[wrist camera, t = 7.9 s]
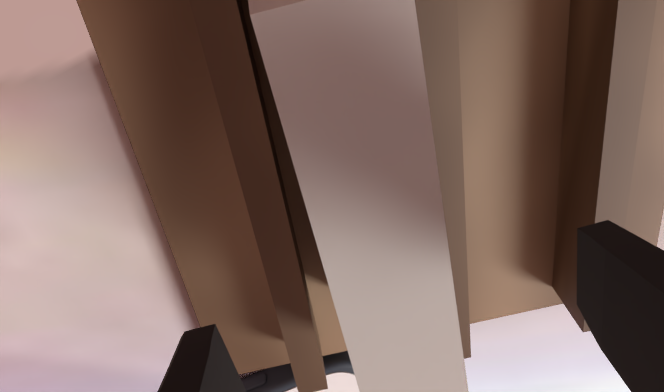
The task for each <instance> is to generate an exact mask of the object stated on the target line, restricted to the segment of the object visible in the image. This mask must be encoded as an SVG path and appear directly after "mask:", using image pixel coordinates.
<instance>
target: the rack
mask: <svg viewBox="0 0 664 392" xmlns="http://www.w3.org/2000/svg"><path fill="white" fill-rule="evenodd" d="M77 3H78V6H79V8H80V11H81V14H82V16H83V19H84V22H85V24H86V27H87V29H88V32H89V35H90V37H91V40H92V43H93V45H94V48H95V51H96V53H97V56H98V58H99V61H100V64H101V66H102V69H103V72H104V74H105V77H106V80H107V82H108V85H109V87H110V90H111V93H112V95H113V98H114V101H115V103H116V106H117V108H118V111H119V114H120V116H121V119H122V122H123V124H124V127H125V129H126V132H127V135H128V137H129V140H130V143H131V145H132V148H133V151H134V153H135V156H136V158H137V161H138V164H139V166H140V169H141V172H142V174H143V177H144V179H145V182H146V185H147V187H148V190H149V193H150V195H151V198H152V201H153V203H154V206H155V208H156V211H157V214H158V216H159V219H160V222H161V224H162V227H163V229H164V232H165V235H166V237H167V240H168V243H169V245H170V248H171V250H172V253H173V256H174V258H175V261H176V264H177V266H178V269H179V272H180V274H181V277H182V279H183V282H184V285H185V287H186V290H187V293H188V295H189V298H190V300H191V303H192V306H193V308H194V311H195V314H196V316H197V319H198V322H199V324H200V327H204V326H208V325H212V324H216V326H217V328H218V330H219V333H220V335H221V337H222V339H223V341H224V344H225V346H226V348H227V350H228V352H229V354H230V357H231V359H232V361H233V363H234V365H235V367H236V370H237V372H238V374H243V373H248V372H252V371H257V370H261V369H266V368H271V367H275V366H280V365H284V364H289V363H290V364H291V367H292V371H293V375H294V378H295V382H296V385H297V389H298V392H316V391H320V390H325V389H328V385H327V379H326V374H325V368H324V362H323V357H322V356H325V355H330V354H334V353H339V352H344V351H348V350H347V347H346V343H345V340H344V336H343V333H342V330H341V326H340V323H339V319H338V316H337V312H336V309H335V306H334V302H333V299H332V295H331V292H330V288H329V285H328V282H327V278H326V275H325V271H324V268H323V264H322V261H321V258H320V254H319V251H318V247H317V244H316V240H315V237H314V234H313V230H312V227H311V223H310V220H309V216H308V213H307V210H306V206H305V203H304V199H303V196H302V192H301V189H300V186H299V182H298V179H297V175H296V172H295V168H294V165H293V161H292V158H291V155H290V151H289V148H288V144H287V141H286V137H285V134H284V131H283V127H282V124H281V120H280V117H279V113H278V110H277V107H276V103H275V100H274V96H273V93H272V89H271V86H270V83H269V79H268V76H267V72H266V69H265V65H264V62H263V59H262V55H261V52H260V48H259V45H258V41H257V38H256V35H255V31H254V28H253V24H252V21H251V17H250V12H249V3H248V0H77ZM415 6H416V14H417V21H418V28H419V36H420V43H421V50H422V57H423V65H424V72H425V79H426V87H427V94H428V101H429V108H430V116H431V123H432V130H433V138H434V145H435V152H436V160H437V167H438V174H439V181H440V189H441V196H442V203H443V211H444V218H445V225H446V232H447V240H448V247H449V254H450V262H451V269H452V276H453V284H454V291H455V298H456V305H457V313H458V320H459V327H460V335H461V342H462V349H463V356H464V359H465V358H469V357H471V348H470V324H471V323H476V322H480V321H485V320H490V319H494V318H499V317H503V316H508V315H512V314H517V313H521V312H526V311H531V310H535V309H540V308H544V307H549V306H553V305H558V304H562V303H563V304H564V305H565V306H566V308H567V309H568V311H569V312H570V314H571V315H572V317H573V318H574V320H575V321H576V323H577V324H578V325H579V327H580V328H581V330H582V331H583V332H587V331H591V330H590V329H589V327H588V325H587V323H586V321H585V319H584V317H583V315H582V313H581V312H580V310H579V308H578V306H577V304H576V303H577V228H579V227H583V226H587V225H591V224H594V223H598V222H602V221H606V220H609V221H611V222H613V223H615V224H617V225H619V226H620V227H622V228H624V229H626V230H628V231H629V232H631V233H633V234H635V235H637V236H638V237H640V238H642V239H644V240H646V241H647V242H649V243H651V244H653V245H654V246H656V247H657V242H658V236H659V231H660V225H661V220H662V214H663V209H664V0H415Z"/></svg>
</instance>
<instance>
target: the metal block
mask: <svg viewBox="0 0 664 392" xmlns="http://www.w3.org/2000/svg"><path fill="white" fill-rule="evenodd" d="M248 3H249V12H250V17H251V21H252V24H253V28H254V31H255V35H256V38H257V41H258V45H259V48H260V52H261V55H262V59H263V62H264V65H265V69H266V72H267V76H268V79H269V83H270V86H271V89H272V93H273V96H274V100H275V103H276V107H277V110H278V113H279V117H280V120H281V124H282V127H283V131H284V134H285V137H286V141H287V144H288V148H289V151H290V155H291V158H292V161H293V165H294V168H295V172H296V175H297V179H298V182H299V186H300V189H301V192H302V196H303V199H304V203H305V206H306V210H307V213H308V216H309V220H310V223H311V227H312V230H313V234H314V237H315V240H316V244H317V247H318V251H319V254H320V258H321V261H322V264H323V268H324V271H325V275H326V278H327V282H328V285H329V288H330V292H331V295H332V299H333V302H334V306H335V309H336V312H337V316H338V319H339V323H340V326H341V330H342V333H343V336H344V340H345V343H346V347H347V350H348V354H349V357H350V361H351V364H352V367H353V371H354V374H355V378H356V381H357V385H358V388H359V391H360V392H468V386H467V378H466V371H465V364H464V356H463V349H462V342H461V335H460V327H459V320H458V313H457V305H456V298H455V291H454V284H453V276H452V269H451V262H450V254H449V247H448V240H447V232H446V225H445V218H444V211H443V203H442V196H441V189H440V181H439V174H438V167H437V160H436V152H435V145H434V138H433V130H432V123H431V116H430V108H429V101H428V94H427V87H426V79H425V72H424V65H423V57H422V50H421V43H420V36H419V28H418V21H417V14H416V6H415V0H248Z"/></svg>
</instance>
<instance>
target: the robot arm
mask: <svg viewBox="0 0 664 392" xmlns="http://www.w3.org/2000/svg"><path fill="white" fill-rule="evenodd" d="M576 304H577V306H578V308H579V310H580V312H581V313H582V315H583V317H584V319H585V321H586V323H587V325H588V327H589V329H590V330H591V332H592V334H593V336H594V338H595V339H596V341H597V343H598V345H599V346H600V348H601V350H602V351H603V353H604V354H605V355H606V357H607V358H608V360H609V361H610V363H611V364H612V365H613V367H614V368H615V370H616V371H617V372H618V374H619V375H620V377H621V378H622V379H623V381H624V382H625V384H626V385H627V386H628V388H629V389H630V390H631V392H664V251H663V250H662V249H660V248H658V247H656V246H654V245H653V244H651V243H649V242H647V241H646V240H644V239H642V238H640V237H638V236H637V235H635V234H633V233H631V232H629V231H628V230H626V229H624V228H622V227H620V226H619V225H617V224H615V223H613V222H611V221H609V220H606V221H602V222H598V223H594V224H591V225H587V226H583V227H579V228H577V303H576ZM158 392H246V389H245V387H244V385H243V383H242V381H241V378H240V376H239V374H238V372H237V370H236V367H235V365H234V363H233V361H232V359H231V357H230V354H229V352H228V350H227V348H226V346H225V344H224V341H223V339H222V337H221V335H220V333H219V330H218V328H217V326H216V324H212V325H208V326H204V327H200V328H197V329H193V330H189V331H185V332H184V334H183V335H182V337H181V339H180V341H179V344H178V346H177V348H176V351H175V353H174V356H173V358H172V360H171V363H170V365H169V367H168V370H167V372H166V374H165V376H164V379H163V381H162V383H161V385H160V388H159V390H158Z"/></svg>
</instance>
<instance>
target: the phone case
mask: <svg viewBox="0 0 664 392" xmlns="http://www.w3.org/2000/svg"><path fill="white" fill-rule="evenodd" d="M322 357H323V362H324V368H325V374H326V379H327V385H328V389H325V390H320V391H316V392H360V391H359V388H358V385H357V381H356V378H355V374H354V371H353V367H352V364H351V361H350V357H349V354H348V351H344V352H339V353H334V354H330V355H325V356H322ZM241 381H242V383H243V385H244V387H245V389H246V392H298V389H297V385H296V382H295V378H294V375H293V371H292V367H291V364H290V363H289V364H284V365H280V366H275V367H271V368H267V369H264V370H262V371H260V372H257V373H255V374H252V375H250V376H247V377H245V378H243V379H241Z"/></svg>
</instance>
